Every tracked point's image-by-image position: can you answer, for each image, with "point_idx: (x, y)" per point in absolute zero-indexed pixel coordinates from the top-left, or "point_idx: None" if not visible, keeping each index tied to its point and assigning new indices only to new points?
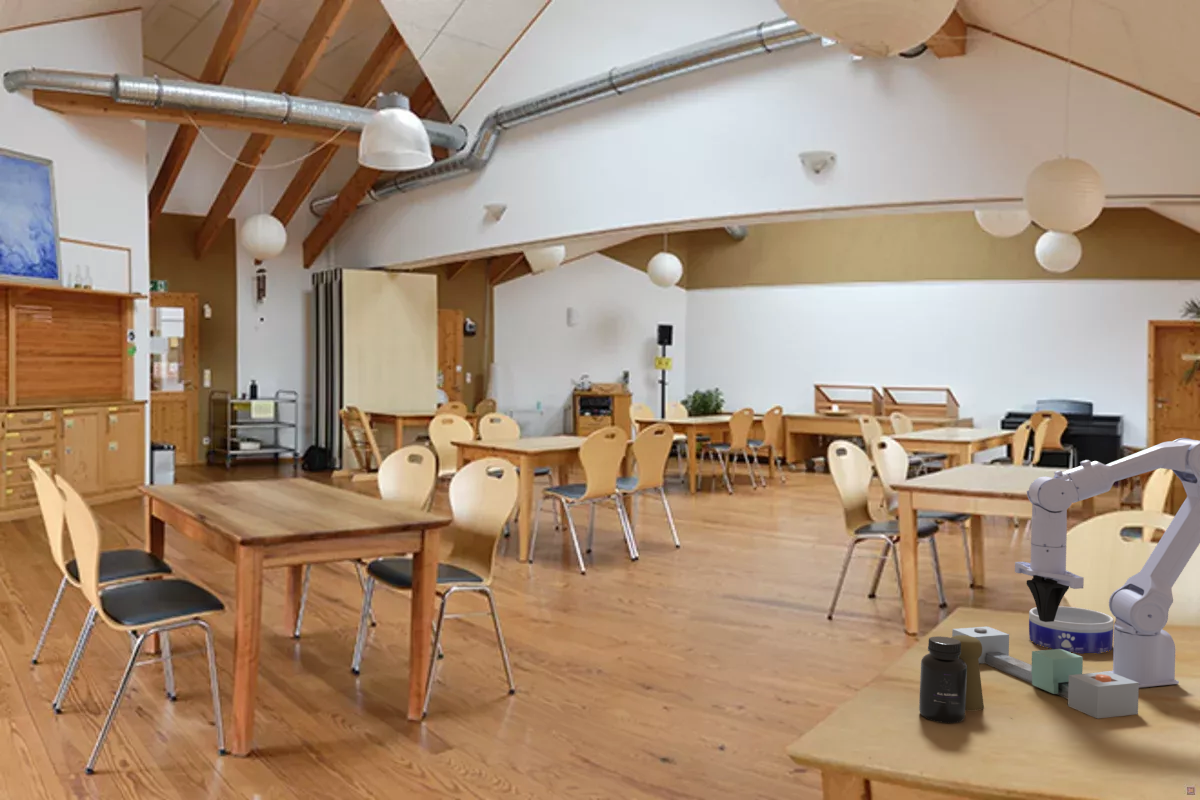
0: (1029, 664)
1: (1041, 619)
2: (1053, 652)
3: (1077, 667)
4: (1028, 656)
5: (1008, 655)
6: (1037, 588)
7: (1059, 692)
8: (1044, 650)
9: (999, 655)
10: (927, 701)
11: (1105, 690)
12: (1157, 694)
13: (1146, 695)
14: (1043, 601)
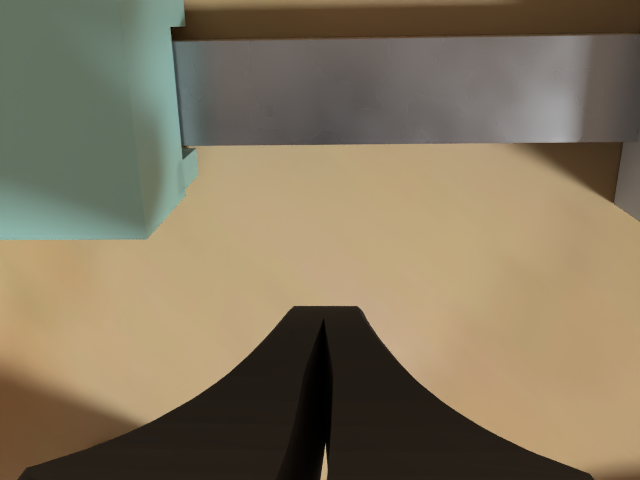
0: (363, 137)
1: (331, 309)
2: (64, 120)
3: None
4: (635, 356)
5: (627, 211)
6: (273, 460)
7: None
8: (122, 92)
9: (578, 88)
10: None
11: None
12: (22, 467)
13: (14, 421)
14: (239, 389)
